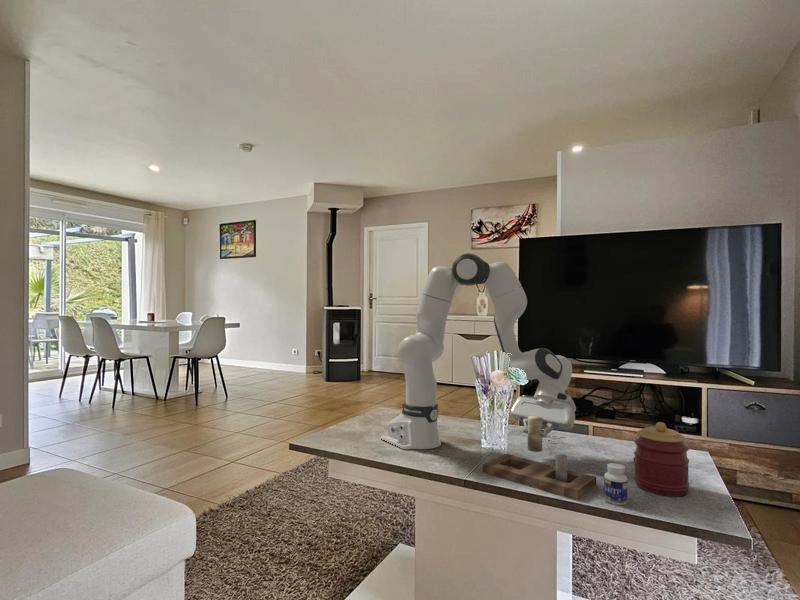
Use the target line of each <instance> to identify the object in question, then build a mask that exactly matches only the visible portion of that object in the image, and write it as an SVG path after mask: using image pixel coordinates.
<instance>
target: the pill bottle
mask: <svg viewBox="0 0 800 600" xmlns="http://www.w3.org/2000/svg"><path fill="white" fill-rule="evenodd" d="M606 466H607V467H606V470H607V471H606V472H605V473H604V474H603V475H604V478H603V479H604V481H603V485H604V487H603V498H604V500H605V502H607V503H609V504H613V505H615V506H625V505H626V504H628V477H627V475H625V473H626V472H625V471H626V469H625V467H626V466H625V465H623V464H621V463H620V464H619V463H615V462H611V463H607V465H606Z"/></svg>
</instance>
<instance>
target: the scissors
mask: <svg viewBox="0 0 800 600" xmlns="http://www.w3.org/2000/svg"><path fill="white" fill-rule="evenodd" d="M550 436H551V437H552V435H550ZM554 436H558V437H553V438H552V439H550V440H551V441H548V440H549V439H547V441H548V442H547V441H546V442H547V443H549V442H551V443H550V444H557V443H558V442H557V440H555V439H556V438H558V439H561V437H562V436H560V435H554ZM551 437H550V438H551ZM553 439H554V440H553ZM553 441H555V442H553Z"/></svg>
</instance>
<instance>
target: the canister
mask: <svg viewBox="0 0 800 600" xmlns="http://www.w3.org/2000/svg"><path fill="white" fill-rule="evenodd" d="M636 434H637V435H638V437H636V438H634V440H633V442H634V443H635V445H636V446H635V450H634V451H633V454H634V457H635V463H634V473H633V478H634V483H635V485H636V486H637V487H638V488H640V489H642V490H643V491H646V492H649V493H652V494H655V495H661V496H667V497H683V496H686V495H688V493H689V489H690V482H689V463H690V459H689V458H688V453H687V452H688V451H690V447H689V445H688V444H686V443H685V441H686V437H685V436H683V435H682V434H681V433H680V432H679V431H677V430H675V429H670V428H668V427H667V425H666V423H664V422H662V421H657V423H656V424H655V426H645V427H643V428H642V429H640V430H638V431H637V433H636Z"/></svg>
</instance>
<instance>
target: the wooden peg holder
mask: <svg viewBox="0 0 800 600" xmlns="http://www.w3.org/2000/svg"><path fill="white" fill-rule="evenodd" d="M481 470H482V473H485V474H487V475H491V476H495V477H498V478H501V479H505V480H508V481H511V482H515V483H518V484H521V485H524V486H527V487H531V488H535V489H538V490H541V491H544V492H548V493H551V494H555V495H558V496H562V497H565V498H568V499H571V500H574V501H579V500H580V499H581V498H583V497H584V496H586V495H587V494H588V493H590V492H591V491H592V490H594V489H595V488H596V487H597V476H595V475H592V474H587V473H583V472H580V471H575V470H572V469H569V468H568V456H567V455H566V454H560V453H559V454H555V465H551V464H547V463H544V462H540V461H536V460H532V459H528V458H523V457H520V456H516V455H512V454H509V453H508V454H507V453H503V454H502V455H498V456H496V457H494V458H492V459H490V460H488V461H485V462H483V463H482V469H481Z"/></svg>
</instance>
